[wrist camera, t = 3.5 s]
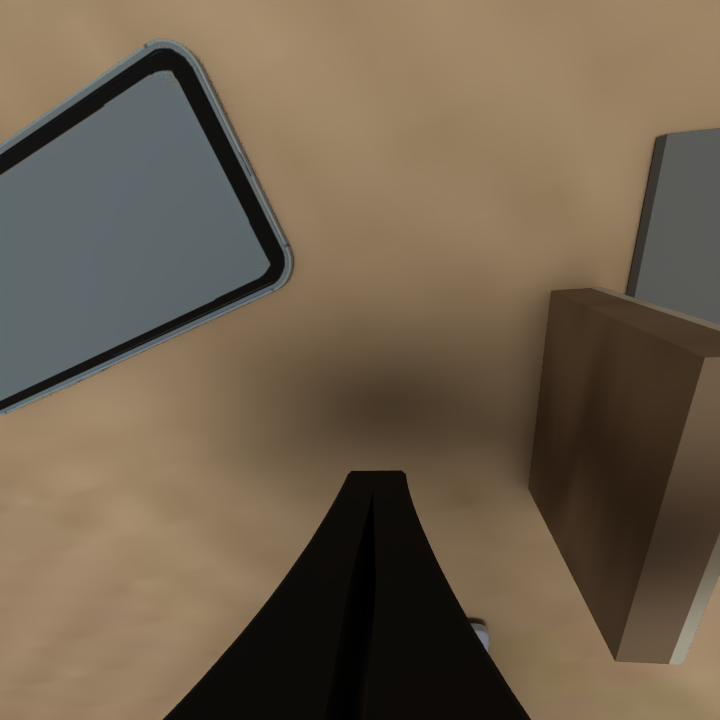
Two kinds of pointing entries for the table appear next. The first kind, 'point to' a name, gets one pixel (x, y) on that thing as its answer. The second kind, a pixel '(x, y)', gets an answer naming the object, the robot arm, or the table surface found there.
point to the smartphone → (126, 224)
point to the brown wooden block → (632, 465)
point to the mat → (681, 227)
